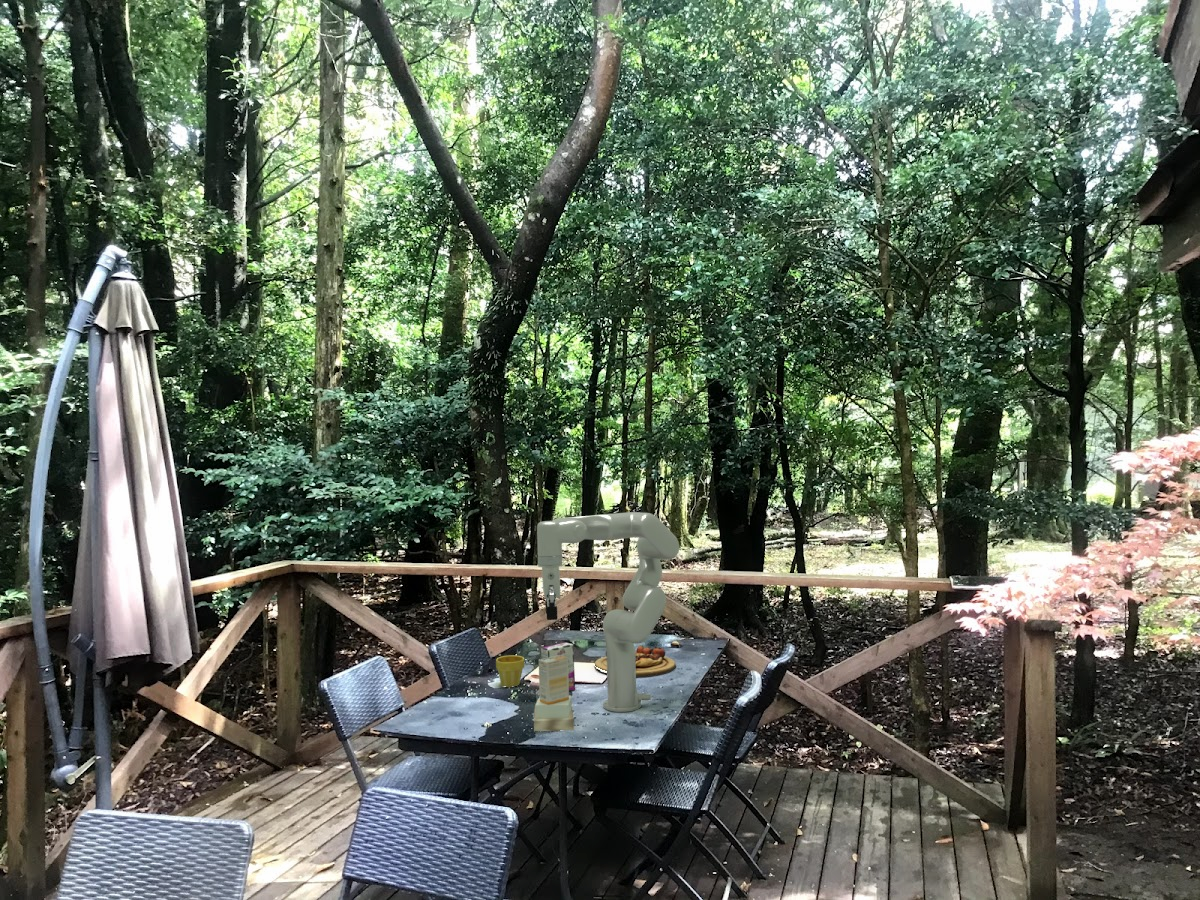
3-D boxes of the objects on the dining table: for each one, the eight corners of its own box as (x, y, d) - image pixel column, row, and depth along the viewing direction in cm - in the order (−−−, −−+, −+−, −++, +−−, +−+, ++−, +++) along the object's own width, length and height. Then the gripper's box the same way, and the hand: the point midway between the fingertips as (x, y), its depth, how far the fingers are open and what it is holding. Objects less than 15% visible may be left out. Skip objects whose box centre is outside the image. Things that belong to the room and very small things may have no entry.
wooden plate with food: (652, 683, 283) (652, 660, 283) (578, 672, 299) (578, 650, 299) (688, 664, 310) (688, 643, 311) (619, 655, 327) (619, 635, 327)
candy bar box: (567, 687, 279) (565, 641, 279) (575, 690, 275) (574, 644, 275) (541, 694, 271) (540, 647, 272) (550, 697, 268) (548, 649, 268)
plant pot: (528, 687, 280) (527, 660, 281) (500, 691, 277) (499, 663, 277) (520, 680, 290) (519, 653, 290) (493, 683, 286) (492, 657, 286)
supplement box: (560, 696, 244) (559, 654, 244) (569, 699, 240) (568, 657, 240) (538, 701, 238) (537, 658, 239) (547, 705, 235) (546, 661, 235)
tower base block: (572, 719, 245) (572, 706, 246) (574, 732, 234) (573, 718, 234) (534, 721, 245) (534, 708, 245) (534, 734, 233) (533, 721, 233)
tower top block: (571, 708, 244) (571, 695, 244) (568, 718, 234) (567, 705, 234) (540, 708, 245) (539, 695, 245) (535, 718, 235) (535, 705, 235)
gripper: (563, 564, 232) (565, 621, 231) (560, 557, 249) (562, 610, 249) (538, 565, 231) (540, 622, 231) (537, 558, 248) (538, 612, 248)
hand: (551, 616), depth 240 cm, fingers open, 9 cm apart
